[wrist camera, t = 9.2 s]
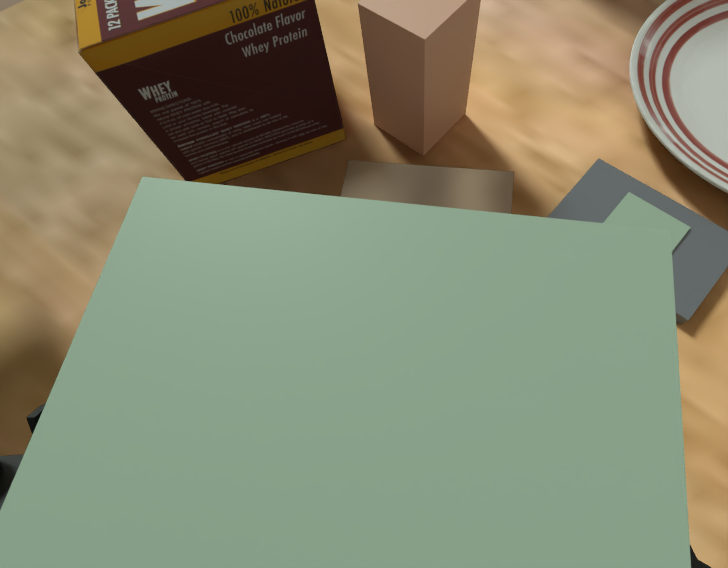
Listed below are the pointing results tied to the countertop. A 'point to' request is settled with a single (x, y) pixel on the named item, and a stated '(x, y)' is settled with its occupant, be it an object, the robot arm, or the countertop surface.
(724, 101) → the dinner plate
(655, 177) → the countertop surface
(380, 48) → the terracotta block
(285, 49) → the supplement box
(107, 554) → the sage block
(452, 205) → the walnut block
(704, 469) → the countertop surface
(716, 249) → the tile
